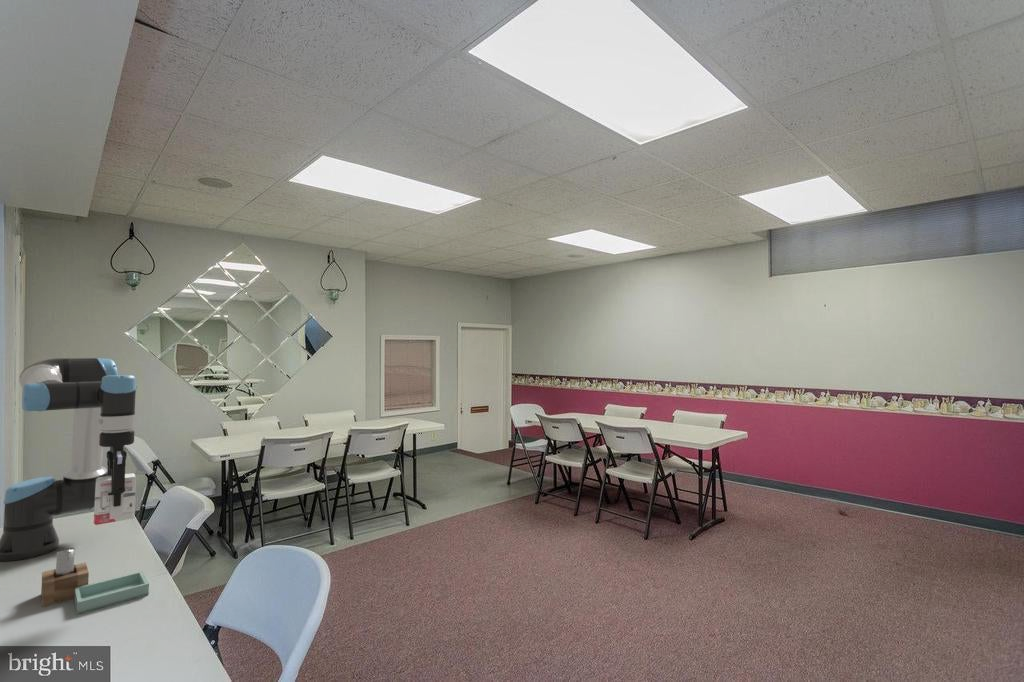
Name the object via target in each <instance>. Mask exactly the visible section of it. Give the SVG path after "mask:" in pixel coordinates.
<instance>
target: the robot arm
mask: <svg viewBox="0 0 1024 682" xmlns="http://www.w3.org/2000/svg"><path fill="white" fill-rule="evenodd" d="M19 384H20V386H21V387H22V391H21V408H22V410H23V411H25V412H44V411H47V412H48V411H59V410H73V414H72V428H71V429H72V430H71V443H70V444H71V446H70V463H69V464H70V465H69V469H68V470H67V471H65V472H63V475H62V476H63V479H58V480H56V478H55V477H54V476H41V477H36V478H35V477H34V478H32V479H30V478H29V479H27V480H23V481H20V482H17V483H15V484H12V485H10V486H8V488H6V490H5V492H4V500H3V504H4V512H3V514H4V515H3V529H2V534H1V536H0V562H10V561H11V562H12V561H19V560H25V559H29V558H34V557H38V556H43V555H45V554H47V553H51V552H52V551H54V550H56V549H58V547H59V546H60V538H59V536H58V533H57V531H56V529H55V525H54V520H53V519H54V516H59V515H60V516H61V515H65V514H72V513H77V512H78V513H79V512H83V511H84V512H85V511H92V510H94V507H95V487H96V479H97V478H98V477H105V476H111V493H108V496H109V495H110V517H109V519H115V518H120V517H123V492H125V474H126V467H127V466H126V465H127V464H126V461H127V454H128V452H127V451H126V450H125V448H124V447H125V446H129V445H132V444H134V442H135V431H134V430H133V429H135V428H136V396H137V395H136V391H137V379H136V377H135V376H134V375H132V374H129V375H128V374H119V373H118V368H117V365H116V363H115V361H114V360H113V359H111V358H104V357H103V358H100V357H99V358H98V357H78V358H77V357H73V358H71V357H70V358H69V357H68V358H63V357H58V358H57V357H55V358H48V359H44V360H40V361H37V362H34V363H32V364H30V365H28V366H26V367H25V368H24V369H23V370H22V371H21V373H20V375H19ZM104 448H109V450H107V452H106V458H107V460H106V464H107V465H106V466H107V468H106V467H105V466H103V461H104V460H103V457H104ZM117 488H118V489H117Z"/></svg>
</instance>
